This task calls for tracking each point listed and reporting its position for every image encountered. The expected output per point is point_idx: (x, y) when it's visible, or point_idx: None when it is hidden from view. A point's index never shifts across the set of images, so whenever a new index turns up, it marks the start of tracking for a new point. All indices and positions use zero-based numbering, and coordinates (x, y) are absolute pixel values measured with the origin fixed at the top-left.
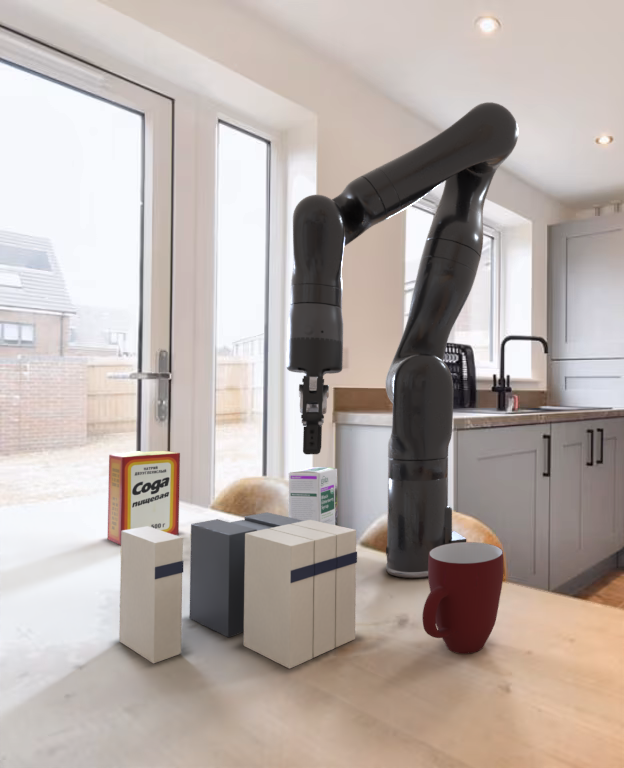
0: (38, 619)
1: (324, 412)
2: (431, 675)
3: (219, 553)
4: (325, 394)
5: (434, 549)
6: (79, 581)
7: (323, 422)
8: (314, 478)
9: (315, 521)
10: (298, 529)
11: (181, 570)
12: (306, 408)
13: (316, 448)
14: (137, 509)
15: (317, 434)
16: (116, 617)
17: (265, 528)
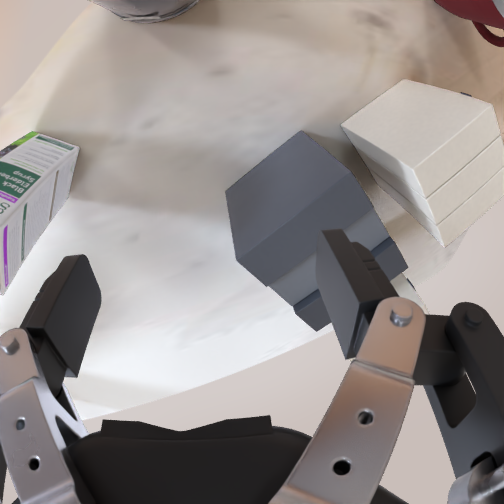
0: (246, 356)
1: (364, 363)
2: (473, 39)
3: None
4: (369, 501)
5: (496, 8)
6: (151, 370)
7: (14, 335)
8: (6, 231)
9: (430, 160)
10: (462, 183)
11: (408, 280)
12: (454, 400)
13: (361, 247)
14: None
15: (387, 281)
16: (260, 312)
17: (351, 235)
